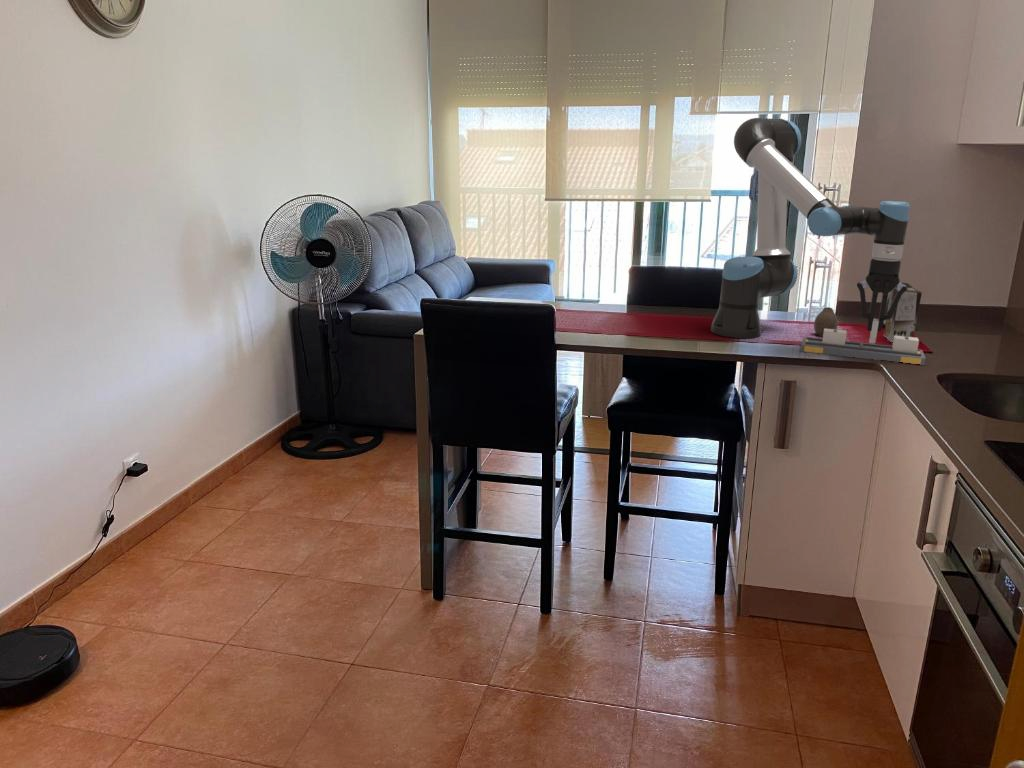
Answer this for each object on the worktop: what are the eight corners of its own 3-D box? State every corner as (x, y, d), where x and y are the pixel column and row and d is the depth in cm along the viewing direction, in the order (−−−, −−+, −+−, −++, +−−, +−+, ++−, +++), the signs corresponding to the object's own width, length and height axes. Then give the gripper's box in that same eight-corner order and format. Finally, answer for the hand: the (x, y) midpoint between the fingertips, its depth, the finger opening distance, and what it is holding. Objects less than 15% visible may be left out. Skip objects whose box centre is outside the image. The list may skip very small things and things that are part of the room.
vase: (839, 335, 237) (843, 308, 234) (831, 339, 232) (835, 311, 230) (817, 331, 242) (821, 304, 239) (809, 335, 237) (812, 307, 234)
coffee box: (912, 345, 227) (922, 292, 222) (890, 343, 228) (899, 291, 223) (904, 338, 236) (913, 287, 231) (882, 336, 237) (891, 285, 232)
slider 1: (821, 344, 217) (824, 330, 216) (822, 341, 221) (824, 327, 219) (844, 347, 215) (846, 332, 214) (844, 343, 218) (846, 329, 217)
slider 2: (892, 352, 210) (895, 337, 209) (891, 349, 214) (894, 334, 213) (916, 354, 208) (919, 339, 207) (915, 351, 212) (918, 336, 210)
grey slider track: (800, 351, 217) (801, 342, 216) (801, 343, 226) (803, 335, 225) (924, 365, 205) (926, 356, 204) (920, 356, 214) (922, 347, 213)
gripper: (860, 259, 205) (847, 342, 213) (913, 262, 201) (898, 348, 208) (859, 255, 212) (847, 336, 219) (911, 259, 207) (896, 342, 214)
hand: (872, 342), depth 214 cm, fingers closed
